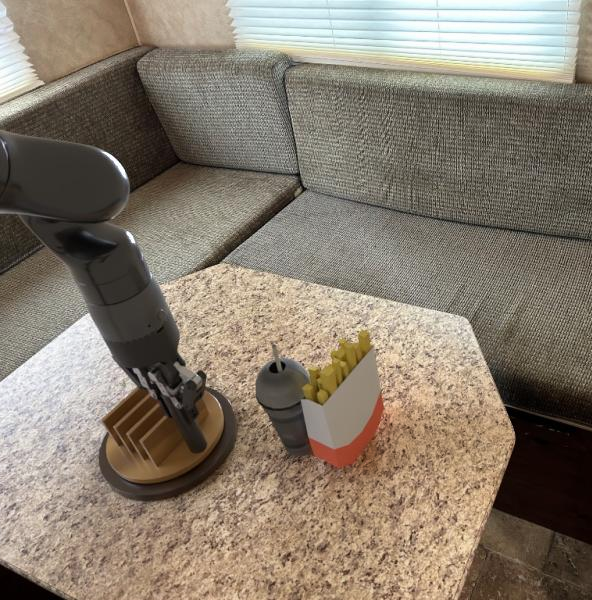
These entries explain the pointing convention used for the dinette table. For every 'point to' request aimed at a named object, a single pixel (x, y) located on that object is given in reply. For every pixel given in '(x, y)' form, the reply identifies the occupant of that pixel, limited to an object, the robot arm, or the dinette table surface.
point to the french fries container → (343, 402)
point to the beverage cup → (285, 401)
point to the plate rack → (159, 437)
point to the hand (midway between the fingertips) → (183, 415)
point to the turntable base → (185, 480)
